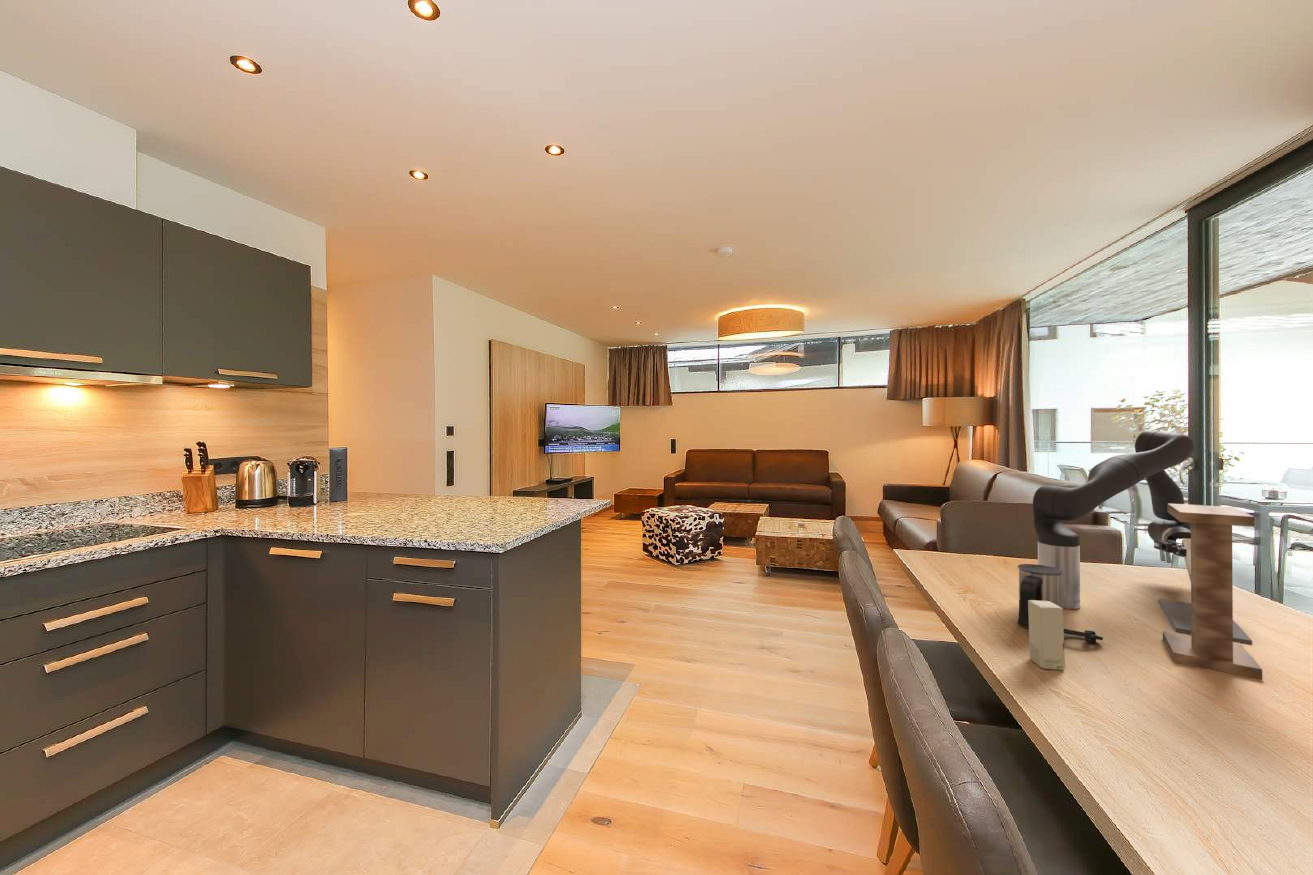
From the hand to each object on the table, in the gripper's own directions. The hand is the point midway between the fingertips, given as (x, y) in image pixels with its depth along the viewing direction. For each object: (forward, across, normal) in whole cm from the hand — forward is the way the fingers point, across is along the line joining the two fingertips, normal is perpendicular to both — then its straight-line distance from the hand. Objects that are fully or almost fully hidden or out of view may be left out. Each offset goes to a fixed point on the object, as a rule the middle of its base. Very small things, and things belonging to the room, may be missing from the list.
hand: (1194, 553), depth 129 cm
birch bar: (+4, 0, +6) cm, 7 cm away
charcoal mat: (+6, 0, +16) cm, 17 cm away
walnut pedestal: (+35, -3, +16) cm, 38 cm away
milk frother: (+37, -28, +16) cm, 49 cm away
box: (+59, -30, +16) cm, 68 cm away
